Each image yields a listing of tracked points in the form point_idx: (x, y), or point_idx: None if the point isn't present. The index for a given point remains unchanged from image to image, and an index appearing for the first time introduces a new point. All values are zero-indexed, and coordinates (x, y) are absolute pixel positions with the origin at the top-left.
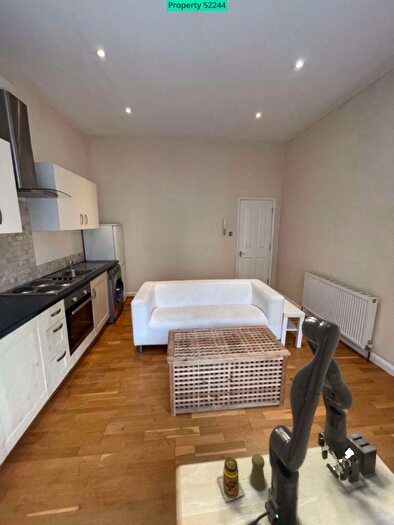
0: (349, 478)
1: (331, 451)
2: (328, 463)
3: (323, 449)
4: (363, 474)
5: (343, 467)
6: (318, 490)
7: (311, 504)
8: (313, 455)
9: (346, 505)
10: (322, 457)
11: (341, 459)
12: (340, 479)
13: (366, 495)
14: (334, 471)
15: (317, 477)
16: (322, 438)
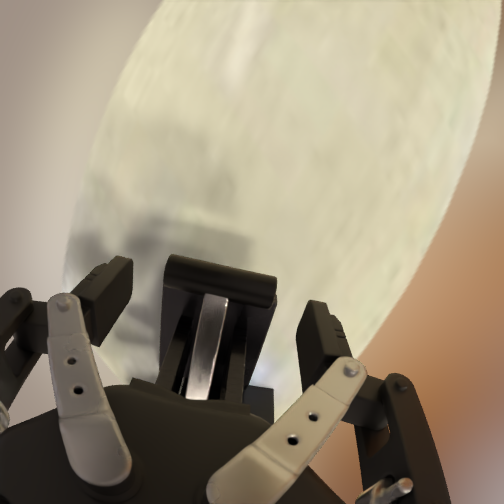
0: (181, 332)
1: (189, 451)
2: (268, 305)
3: (334, 379)
4: (181, 390)
5: (228, 360)
6: (252, 125)
7: (224, 24)
8: (383, 294)
9: (132, 201)
10: (323, 306)
11: (233, 395)
12: (122, 258)
13: (134, 323)
14: (198, 284)
15: (304, 194)
16: (388, 494)
